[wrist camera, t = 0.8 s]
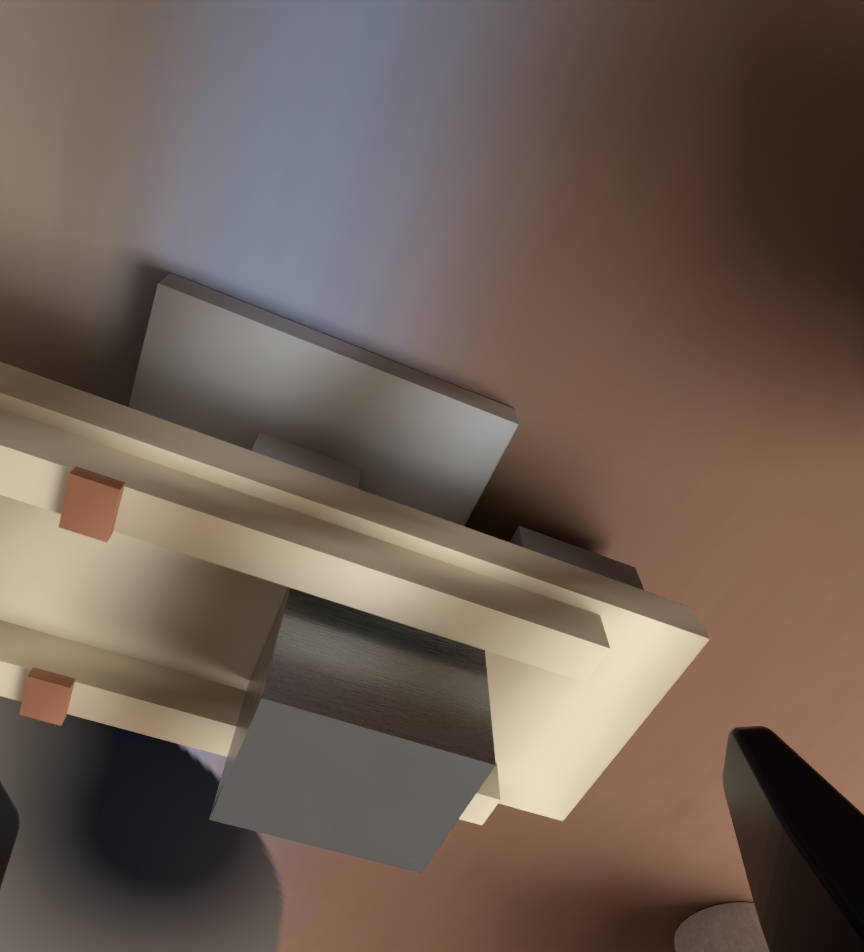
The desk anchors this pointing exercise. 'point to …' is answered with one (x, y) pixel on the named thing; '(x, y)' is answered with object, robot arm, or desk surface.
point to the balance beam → (300, 546)
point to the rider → (358, 735)
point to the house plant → (722, 930)
